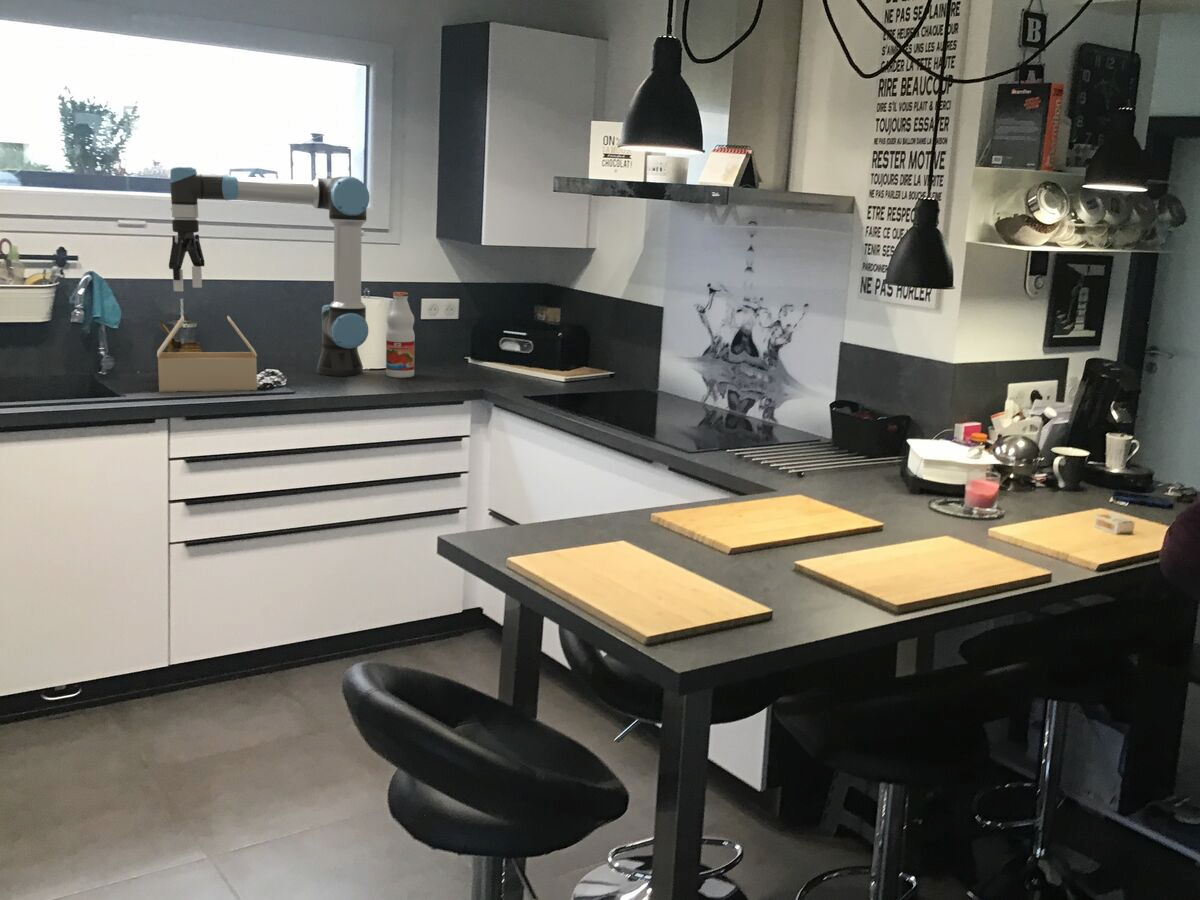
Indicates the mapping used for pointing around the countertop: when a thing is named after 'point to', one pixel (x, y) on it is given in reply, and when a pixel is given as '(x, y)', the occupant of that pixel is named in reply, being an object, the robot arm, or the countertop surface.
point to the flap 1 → (170, 336)
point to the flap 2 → (241, 335)
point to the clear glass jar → (177, 344)
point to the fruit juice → (400, 338)
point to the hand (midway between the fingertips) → (188, 289)
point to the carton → (207, 371)
